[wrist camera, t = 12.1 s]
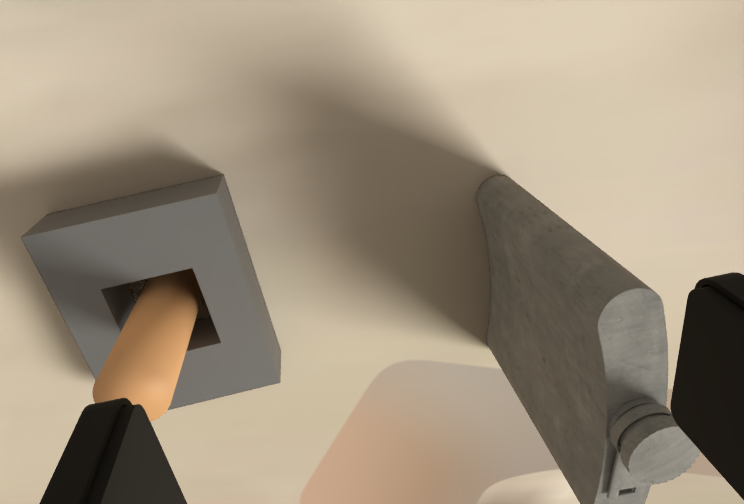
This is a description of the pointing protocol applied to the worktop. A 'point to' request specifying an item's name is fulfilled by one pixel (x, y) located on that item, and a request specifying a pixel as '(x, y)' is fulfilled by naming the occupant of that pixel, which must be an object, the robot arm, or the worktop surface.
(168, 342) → the long pin
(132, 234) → the hole block
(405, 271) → the worktop surface
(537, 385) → the hip flask
